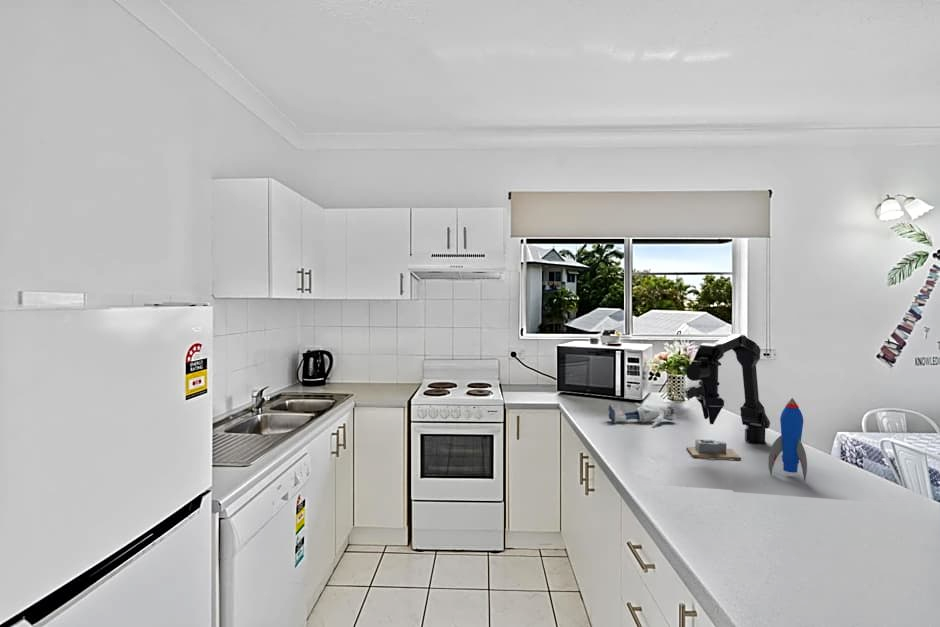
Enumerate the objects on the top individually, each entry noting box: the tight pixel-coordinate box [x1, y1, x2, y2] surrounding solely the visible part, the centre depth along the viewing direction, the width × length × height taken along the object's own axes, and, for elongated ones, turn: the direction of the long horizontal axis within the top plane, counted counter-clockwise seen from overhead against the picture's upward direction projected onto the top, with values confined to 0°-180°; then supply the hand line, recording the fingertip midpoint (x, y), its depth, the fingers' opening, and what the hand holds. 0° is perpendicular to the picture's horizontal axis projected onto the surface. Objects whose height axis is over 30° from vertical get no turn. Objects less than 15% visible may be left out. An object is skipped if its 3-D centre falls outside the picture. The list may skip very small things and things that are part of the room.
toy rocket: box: [767, 397, 808, 482], centre depth 185 cm, size 11×10×25 cm
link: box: [694, 438, 727, 454], centre depth 211 cm, size 10×7×4 cm
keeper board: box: [685, 439, 742, 461], centre depth 210 cm, size 16×12×5 cm
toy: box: [608, 402, 678, 428], centre depth 264 cm, size 23×8×30 cm
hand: (708, 421), depth 211 cm, fingers open, 9 cm apart
